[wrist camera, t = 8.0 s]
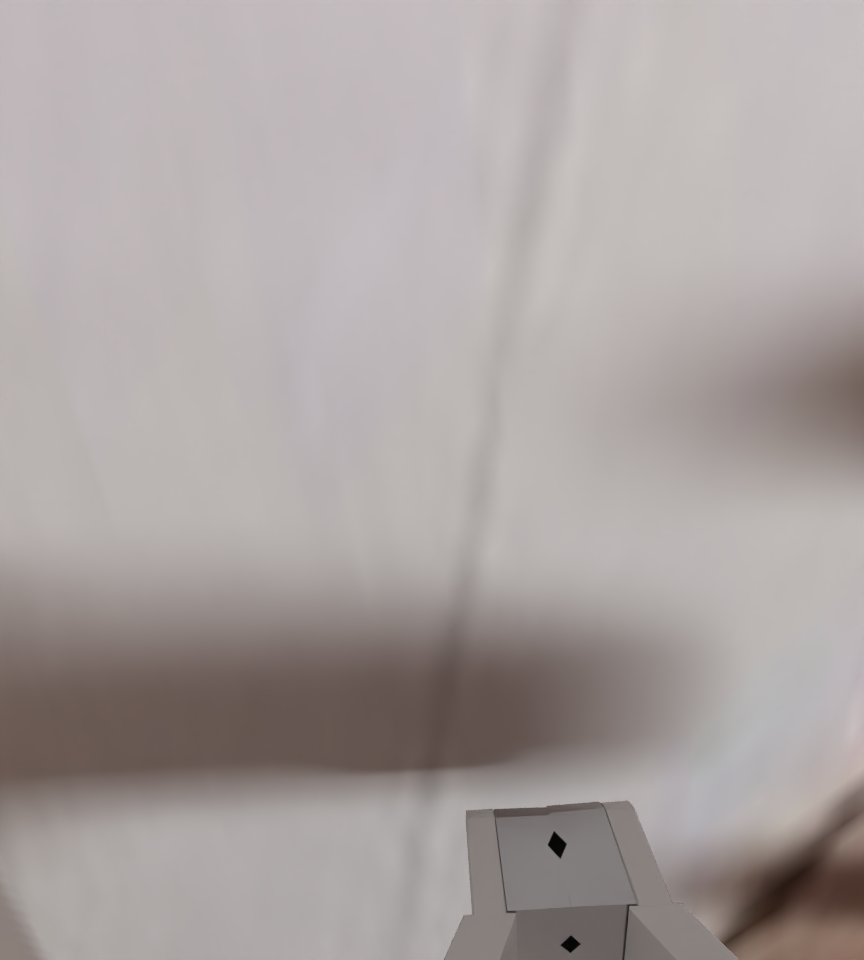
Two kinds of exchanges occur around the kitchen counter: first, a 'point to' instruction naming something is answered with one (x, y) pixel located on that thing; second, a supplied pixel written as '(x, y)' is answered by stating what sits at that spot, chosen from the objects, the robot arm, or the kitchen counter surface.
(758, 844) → the kitchen counter surface
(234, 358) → the kitchen counter surface
